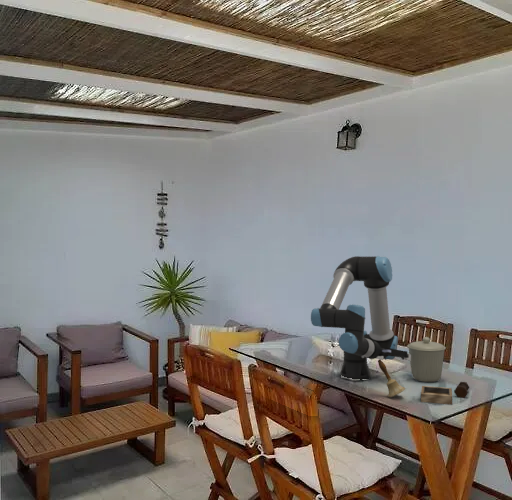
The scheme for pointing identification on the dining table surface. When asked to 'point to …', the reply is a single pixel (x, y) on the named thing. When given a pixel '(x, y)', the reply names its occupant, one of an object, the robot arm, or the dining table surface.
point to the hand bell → (390, 382)
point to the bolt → (461, 390)
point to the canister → (426, 360)
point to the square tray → (436, 395)
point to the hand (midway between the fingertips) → (396, 357)
